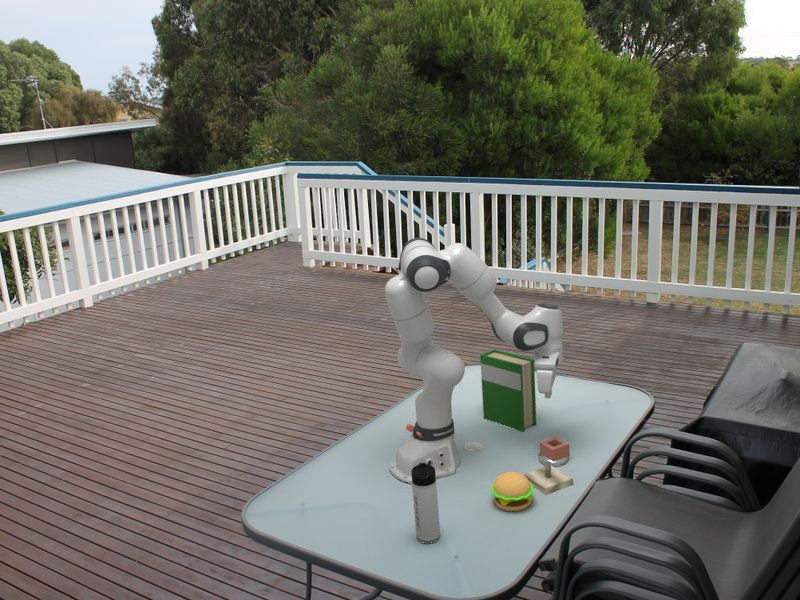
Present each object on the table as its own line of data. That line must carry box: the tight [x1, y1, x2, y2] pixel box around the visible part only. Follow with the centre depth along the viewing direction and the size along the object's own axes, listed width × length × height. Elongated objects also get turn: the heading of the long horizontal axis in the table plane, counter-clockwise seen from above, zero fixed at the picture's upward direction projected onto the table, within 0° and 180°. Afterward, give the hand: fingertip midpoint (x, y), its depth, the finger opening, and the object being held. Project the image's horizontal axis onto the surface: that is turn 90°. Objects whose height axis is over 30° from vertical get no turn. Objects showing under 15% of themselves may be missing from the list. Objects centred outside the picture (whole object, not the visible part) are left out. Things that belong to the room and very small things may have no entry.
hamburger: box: [489, 471, 535, 512], centre depth 207 cm, size 12×12×9 cm
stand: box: [523, 461, 574, 496], centre depth 216 cm, size 10×10×6 cm
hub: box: [537, 452, 569, 468], centre depth 229 cm, size 9×9×4 cm
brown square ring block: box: [539, 436, 570, 462], centre depth 229 cm, size 6×6×4 cm
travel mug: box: [411, 463, 441, 544], centre depth 192 cm, size 6×7×20 cm
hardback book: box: [479, 349, 537, 433], centre depth 256 cm, size 18×7×24 cm, turn 42°
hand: (548, 396), depth 233 cm, fingers closed
